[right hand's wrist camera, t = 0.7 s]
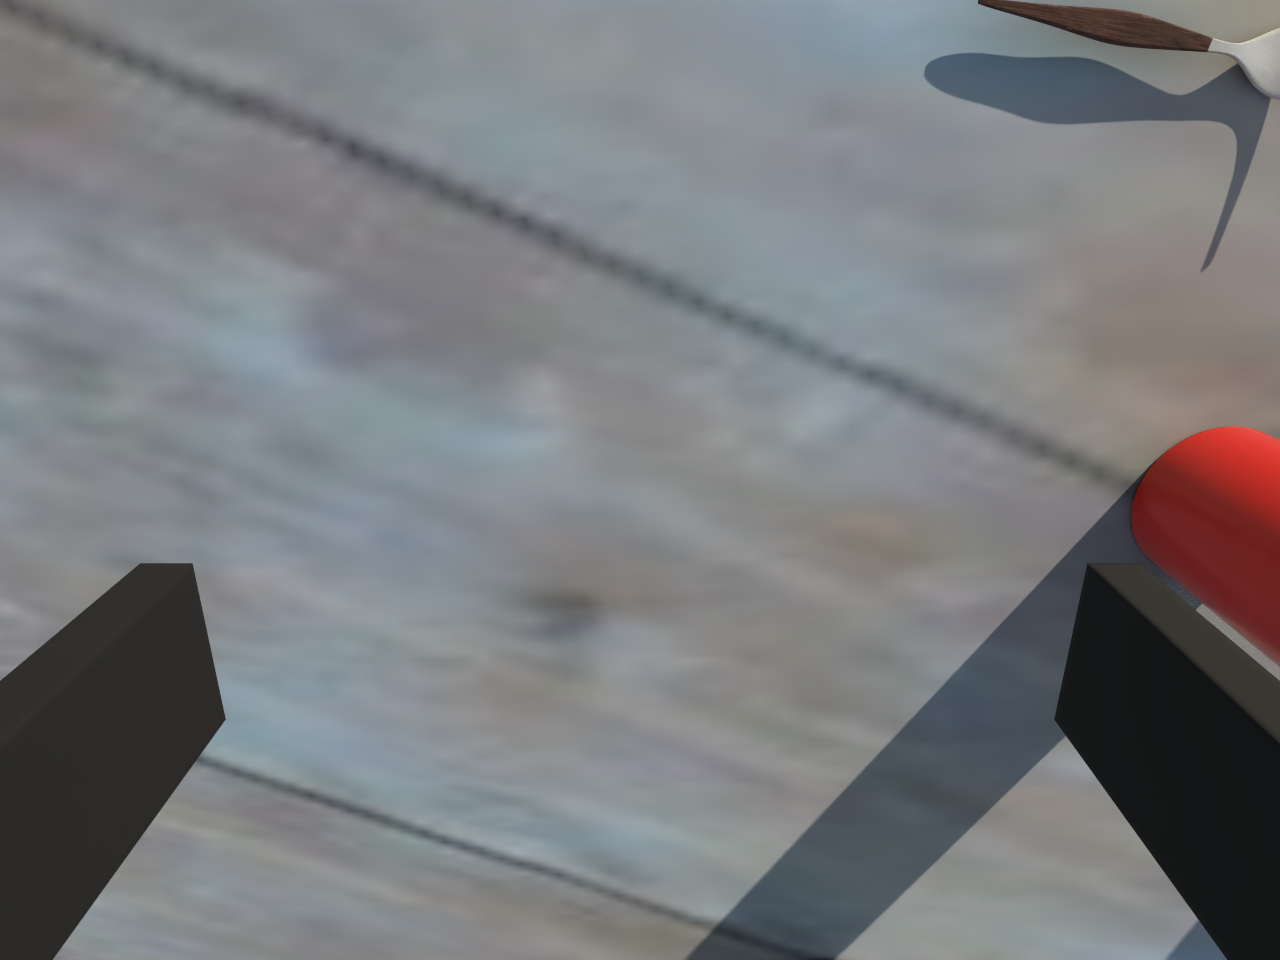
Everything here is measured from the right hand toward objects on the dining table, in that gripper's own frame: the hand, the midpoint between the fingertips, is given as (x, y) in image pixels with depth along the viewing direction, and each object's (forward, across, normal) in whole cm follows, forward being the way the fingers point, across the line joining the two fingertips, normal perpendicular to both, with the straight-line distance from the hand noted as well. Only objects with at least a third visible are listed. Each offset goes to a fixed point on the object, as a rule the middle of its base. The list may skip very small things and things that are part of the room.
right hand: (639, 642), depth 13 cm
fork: (+26, -20, -11) cm, 35 cm away
